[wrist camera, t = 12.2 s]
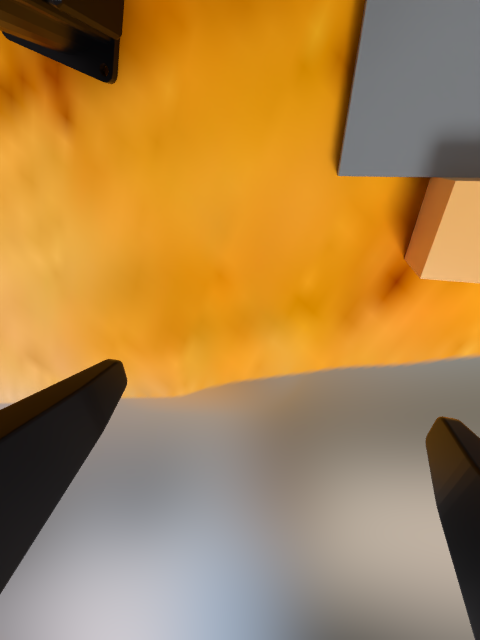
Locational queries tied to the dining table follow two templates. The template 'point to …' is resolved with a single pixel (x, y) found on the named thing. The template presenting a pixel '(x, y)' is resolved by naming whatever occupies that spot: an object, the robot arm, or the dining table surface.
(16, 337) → the dining table surface
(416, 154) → the lid
